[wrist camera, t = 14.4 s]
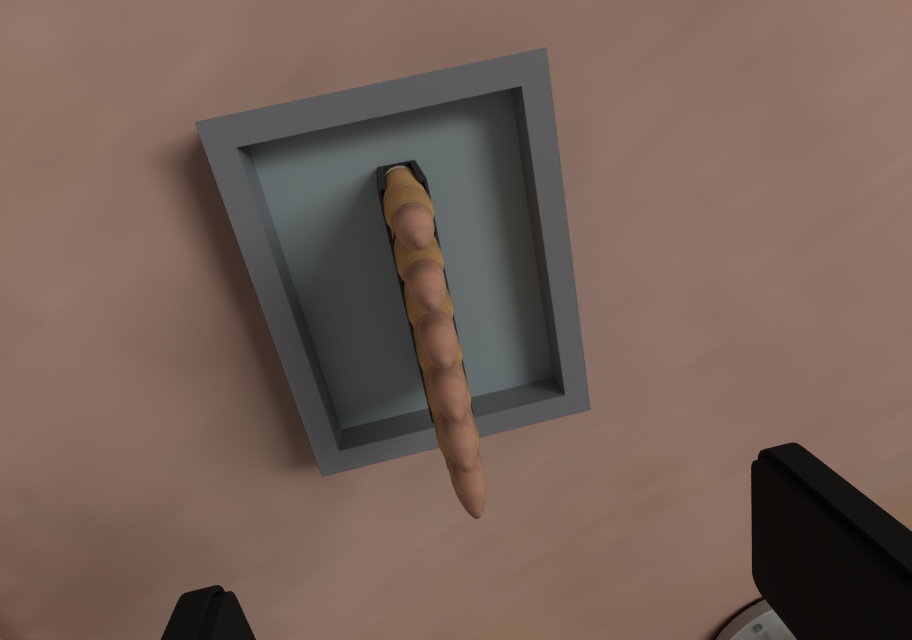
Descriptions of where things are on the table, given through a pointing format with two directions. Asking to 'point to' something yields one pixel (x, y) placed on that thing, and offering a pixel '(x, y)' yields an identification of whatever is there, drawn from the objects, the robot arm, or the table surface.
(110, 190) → the table surface
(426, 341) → the ammunition clip
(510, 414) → the holder tray
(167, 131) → the table surface
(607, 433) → the table surface
